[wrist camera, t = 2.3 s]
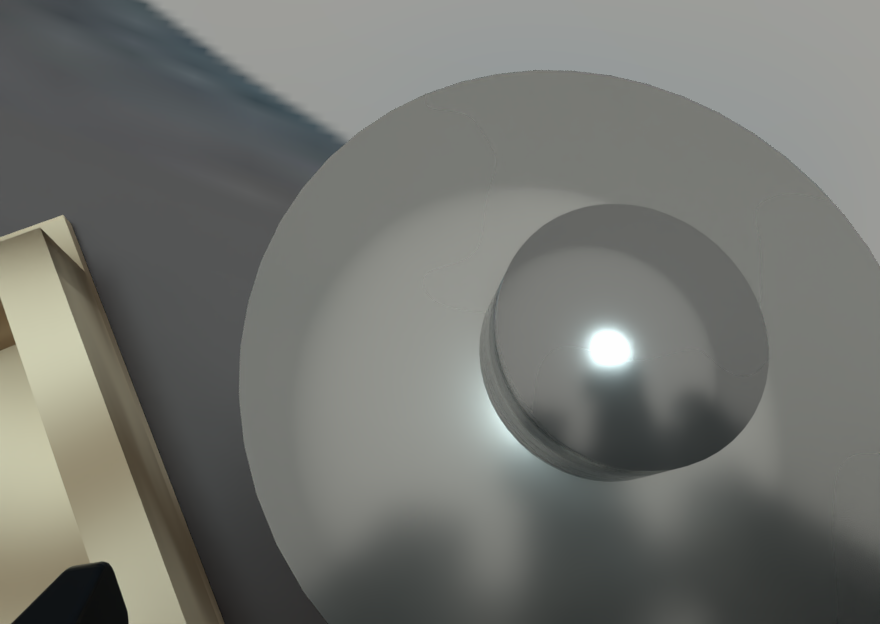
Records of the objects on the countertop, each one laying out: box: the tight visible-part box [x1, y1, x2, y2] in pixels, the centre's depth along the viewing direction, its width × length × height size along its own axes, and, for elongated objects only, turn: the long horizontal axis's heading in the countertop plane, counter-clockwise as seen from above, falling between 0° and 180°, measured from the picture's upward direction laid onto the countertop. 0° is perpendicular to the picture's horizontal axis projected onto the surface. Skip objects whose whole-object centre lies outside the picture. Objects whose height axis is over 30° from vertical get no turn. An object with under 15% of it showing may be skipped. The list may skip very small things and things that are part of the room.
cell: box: [239, 70, 880, 624], centre depth 10 cm, size 5×5×14 cm
